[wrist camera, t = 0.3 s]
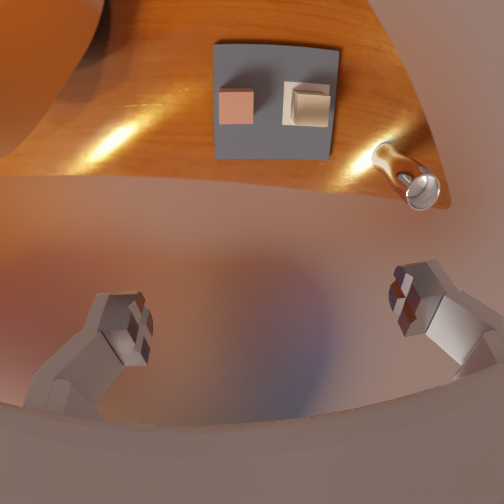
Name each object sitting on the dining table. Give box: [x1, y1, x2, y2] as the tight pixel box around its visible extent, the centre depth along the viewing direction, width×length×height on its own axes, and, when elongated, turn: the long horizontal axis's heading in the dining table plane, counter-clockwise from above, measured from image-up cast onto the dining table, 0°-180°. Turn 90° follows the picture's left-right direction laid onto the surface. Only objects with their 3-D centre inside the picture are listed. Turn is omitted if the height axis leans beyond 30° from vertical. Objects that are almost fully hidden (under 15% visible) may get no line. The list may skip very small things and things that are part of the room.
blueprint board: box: [213, 44, 339, 160], centre depth 47 cm, size 20×20×1 cm
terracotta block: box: [219, 88, 254, 124], centre depth 44 cm, size 5×5×5 cm
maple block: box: [290, 89, 331, 127], centre depth 45 cm, size 5×5×5 cm
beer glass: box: [372, 143, 440, 211], centre depth 48 cm, size 7×7×15 cm
